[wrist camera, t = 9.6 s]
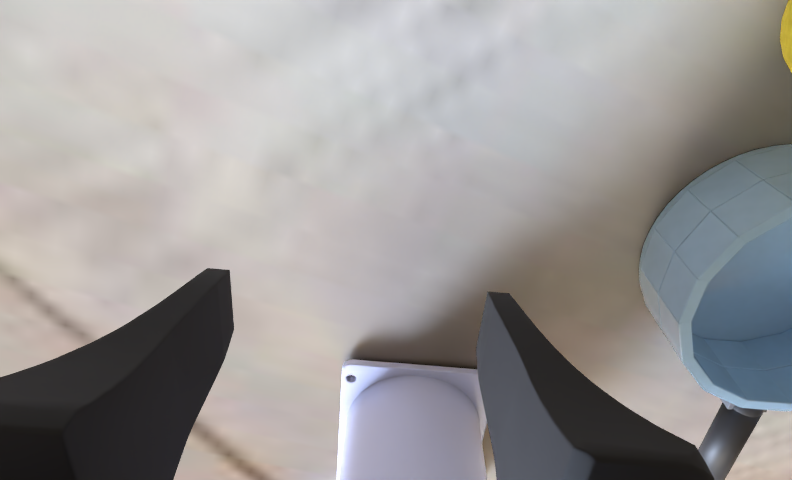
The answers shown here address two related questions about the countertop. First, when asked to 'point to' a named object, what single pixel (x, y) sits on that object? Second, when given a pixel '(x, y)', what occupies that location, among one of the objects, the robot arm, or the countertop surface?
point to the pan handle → (727, 437)
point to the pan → (728, 278)
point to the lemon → (787, 35)
